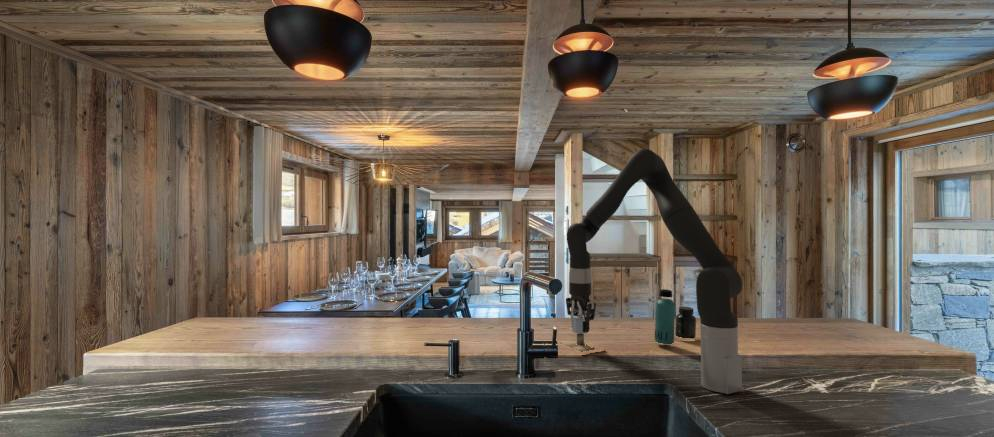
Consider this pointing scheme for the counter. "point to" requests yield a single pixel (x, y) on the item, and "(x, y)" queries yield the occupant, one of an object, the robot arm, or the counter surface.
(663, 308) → the beverage bottle
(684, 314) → the supplement bottle
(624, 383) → the counter surface
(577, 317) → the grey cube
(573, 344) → the board
